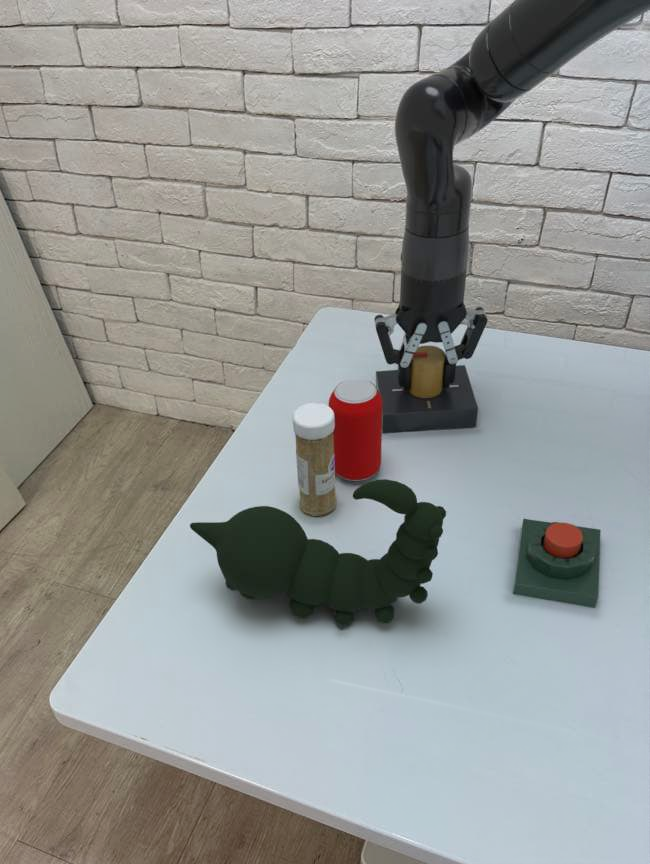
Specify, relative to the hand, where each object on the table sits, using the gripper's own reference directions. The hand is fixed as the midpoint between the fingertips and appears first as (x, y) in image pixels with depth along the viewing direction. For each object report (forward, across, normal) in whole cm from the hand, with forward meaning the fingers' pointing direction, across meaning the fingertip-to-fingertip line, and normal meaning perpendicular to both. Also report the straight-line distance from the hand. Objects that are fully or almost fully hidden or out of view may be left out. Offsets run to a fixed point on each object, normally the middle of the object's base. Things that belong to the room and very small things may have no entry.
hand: (425, 385), depth 105 cm
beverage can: (+4, -10, -12) cm, 16 cm away
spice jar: (+4, -15, -18) cm, 24 cm away
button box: (+4, +10, -30) cm, 32 cm away
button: (+1, +10, -30) cm, 32 cm away
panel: (+4, 0, 0) cm, 4 cm away
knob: (+1, 0, 0) cm, 1 cm away
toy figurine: (+4, -16, -33) cm, 37 cm away
